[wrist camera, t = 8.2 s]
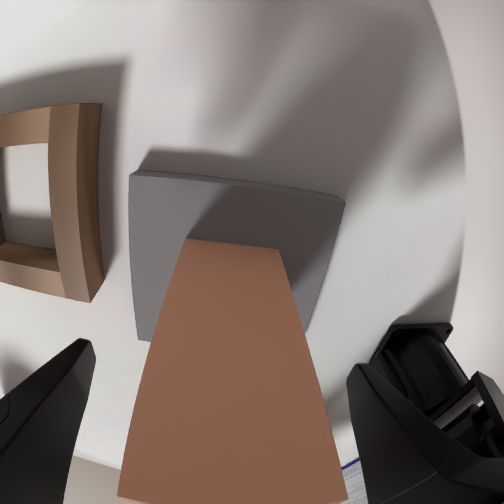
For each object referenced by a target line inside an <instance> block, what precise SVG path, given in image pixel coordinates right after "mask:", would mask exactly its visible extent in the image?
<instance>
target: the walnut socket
mask: <svg viewBox="0 0 504 504" xmlns="http://www.w3.org/2000/svg"><path fill="white" fill-rule="evenodd" d="M101 106H102V104H100V103H77V104H67V105H58V106H51V107H44V108H37V109H31V110H26V111H20V112H15V113H11V114H6V115H2V116H0V147H7V146H15V145H25V144H37V143H48V174H49V194H50V207H51V217H52V226H53V234H54V241H55V247H56V250H54V249H47V248H41V247H34V246H28V245H22V244H15V243H9V242H5V238H4V233H3V228H2V222H1V215H0V282H3V283H7V284H10V285H14V286H18V287H22V288H25V289H29V290H33V291H37V292H42V293H46V294H50V295H54V296H59V297H63V298H68V299H73V300H77V301H82V302H87V303H91V301H92V300H93V298H94V296H95V295H96V293H97V292H98V290H99V289H100V287H101V285H102V284H103V282H104V274H103V266H102V257H101V247H100V234H99V219H98V185H97V176H98V143H99V127H100V116H101Z"/></svg>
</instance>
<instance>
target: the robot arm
mask: <svg viewBox="0 0 504 504" xmlns="http://www.w3.org/2000/svg"><path fill="white" fill-rule="evenodd" d="M452 330H453V327H452V325H451V324H450V323H438V324H412V325H394V326H392V327H391V328H390V329H389V330H388V332H387V334H386V336H385V338H384V339H383V341H382V343H381V345H380V346H379V348H378V350H377V352H376V353H375V355H374V357H373V358H372V360H371V362H370V363H369V365H368V364H367V363H357V364H355V366H354V367H353V369H352V370H351V372H350V374H349V375H348V377H347V381H346V384H347V392H348V400H349V408H350V416H351V422H352V426H353V431H354V435H355V440H356V444H357V449H358V453H359V458H360V463H361V468H362V473H363V478H364V483H365V489H366V494H367V500H368V504H504V395H503V393H502V392H501V390H500V389H499V387H498V386H497V385H496V383H495V382H494V380H493V379H492V378H490V377H488V376H486V375H484V374H483V373H481V372H479V371H477V372H476V373H475V374H474V375H473V376H472V377H471V379H470V380H469V379H468V378H467V376H466V374H465V373H464V371H463V370H462V369H461V367H460V365H459V364H458V362H457V361H456V359H455V358H454V356H453V355H452V354H451V352H450V351H449V349H448V348H447V346H446V345H445V341H446V340H447V338H448V337H449V335H450V333H451V332H452ZM95 363H96V356H95V353H94V349H93V346H92V343H91V341H90V340H87V339H83V338H79V339H77V340H76V341H74V342H73V343H72V344H70V345H69V346H68V347H66V348H65V349H64V350H62V351H61V352H60V353H59V354H57V355H56V356H55V357H53V358H52V359H51V360H49V361H48V362H47V363H45V364H44V365H43V366H42V367H40V368H39V369H38V370H36V371H35V372H34V373H33V374H31V375H30V376H29V377H28V378H26V379H25V380H24V381H22V382H21V383H20V384H19V385H17V386H16V387H15V388H14V389H12V390H11V391H10V393H7V394H6V395H5V396H4V397H2V398H1V399H0V504H63V500H64V493H65V488H66V483H67V478H68V473H69V468H70V464H71V459H72V455H73V451H74V447H75V443H76V439H77V435H78V432H79V428H80V425H81V421H82V418H83V414H84V411H85V408H86V404H87V401H88V396H89V392H90V386H91V382H92V377H93V372H94V368H95ZM481 400H483V402H484V404H483V405H482V406H480V407H479V406H478V405H477V404H478V403H479V402H480V401H481Z"/></svg>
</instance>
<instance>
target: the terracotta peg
mask: <svg viewBox="0 0 504 504" xmlns="http://www.w3.org/2000/svg"><path fill="white" fill-rule="evenodd" d="M117 496H118V497H120V498H121V499H122V500H123V501H125V502H126V503H127V504H339V503H341V502H343V501H345V500H347V499H349V498H348V494H347V490H346V485H345V481H344V477H343V473H342V469H341V465H340V461H339V457H338V453H337V449H336V445H335V442H334V438H333V434H332V430H331V426H330V423H329V419H328V415H327V411H326V408H325V404H324V400H323V397H322V393H321V389H320V386H319V382H318V379H317V375H316V372H315V368H314V365H313V361H312V358H311V354H310V351H309V347H308V344H307V340H306V337H305V334H304V330H303V327H302V324H301V320H300V317H299V314H298V310H297V307H296V304H295V300H294V297H293V294H292V291H291V287H290V284H289V281H288V278H287V274H286V271H285V268H284V265H283V262H282V258H281V255H280V252H279V249H271V248H263V247H254V246H246V245H238V244H229V243H221V242H213V241H204V240H196V239H187V238H185V240H184V243H183V246H182V249H181V252H180V254H179V257H178V260H177V263H176V266H175V269H174V272H173V275H172V277H171V280H170V283H169V286H168V289H167V293H166V296H165V299H164V302H163V305H162V308H161V311H160V314H159V318H158V321H157V324H156V328H155V331H154V334H153V338H152V341H151V345H150V348H149V352H148V355H147V359H146V362H145V366H144V370H143V374H142V377H141V381H140V385H139V389H138V393H137V397H136V401H135V406H134V410H133V414H132V419H131V423H130V428H129V432H128V437H127V442H126V447H125V452H124V457H123V463H122V468H121V474H120V480H119V487H118V493H117Z"/></svg>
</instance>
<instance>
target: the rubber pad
mask: <svg viewBox="0 0 504 504" xmlns="http://www.w3.org/2000/svg"><path fill="white" fill-rule="evenodd" d="M345 204H346V203H345V202H344V201H343V200H342V199H340V198H339V197H338V196H333V195H328V194H323V193H318V192H312V191H306V190H301V189H295V188H289V187H282V186H276V185H270V184H263V183H256V182H249V181H241V180H233V179H225V178H217V177H208V176H199V175H189V174H178V173H166V172H153V171H139V170H137V171H135V172H133V173H132V174H130V175H129V251H130V268H131V282H132V293H133V303H134V312H135V320H136V328H137V335H138V340H143V341H149V342H151V341H152V338H153V334H154V331H155V328H156V324H157V321H158V318H159V314H160V311H161V308H162V305H163V302H164V299H165V296H166V293H167V289H168V286H169V283H170V280H171V277H172V275H173V272H174V269H175V266H176V263H177V260H178V257H179V254H180V252H181V249H182V246H183V243H184V240H185V238H187V239H196V240H204V241H213V242H221V243H229V244H238V245H246V246H254V247H263V248H271V249H279V252H280V255H281V258H282V262H283V265H284V268H285V271H286V274H287V278H288V281H289V284H290V287H291V291H292V294H293V297H294V300H295V304H296V307H297V310H298V314H299V317H300V320H301V324H302V327H303V330H304V333H305V331H306V328H307V325H308V323H309V320H310V317H311V314H312V311H313V308H314V306H315V303H316V300H317V297H318V294H319V291H320V288H321V285H322V282H323V279H324V276H325V273H326V269H327V266H328V263H329V260H330V257H331V253H332V250H333V247H334V243H335V240H336V237H337V233H338V230H339V226H340V223H341V219H342V215H343V212H344V208H345Z"/></svg>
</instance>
